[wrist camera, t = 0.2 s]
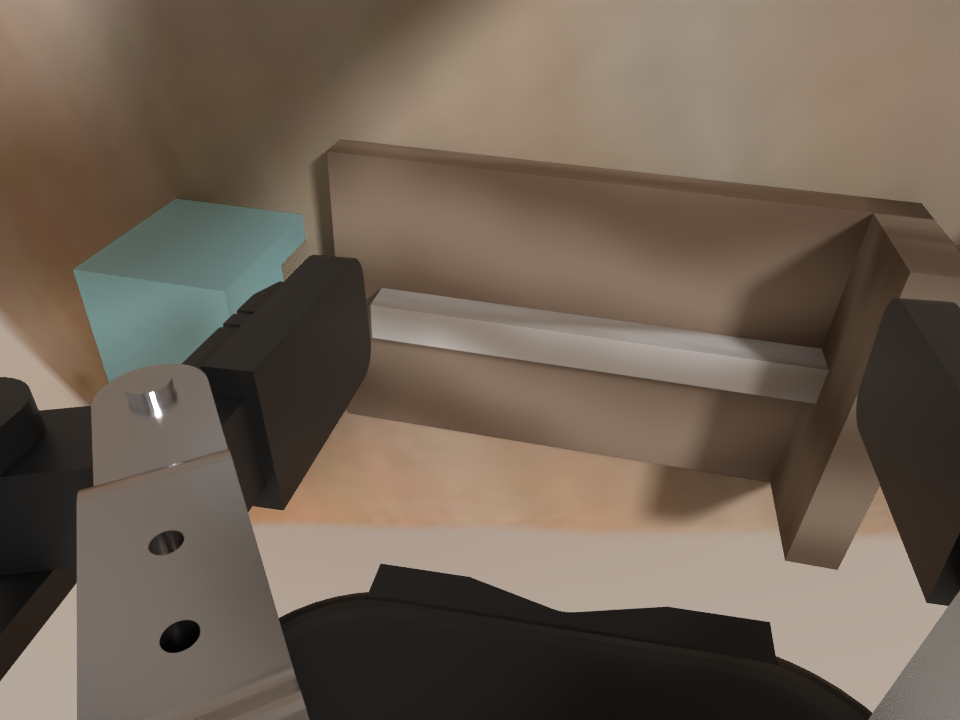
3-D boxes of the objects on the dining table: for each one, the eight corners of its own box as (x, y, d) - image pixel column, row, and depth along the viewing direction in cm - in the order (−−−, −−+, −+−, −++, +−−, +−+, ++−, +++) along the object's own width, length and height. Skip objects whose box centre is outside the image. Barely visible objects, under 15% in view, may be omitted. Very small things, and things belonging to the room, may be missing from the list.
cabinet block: (161, 196, 32) (55, 266, 26) (302, 214, 31) (224, 291, 26) (187, 311, 36) (98, 395, 30) (314, 330, 35) (248, 420, 29)
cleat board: (340, 139, 29) (276, 194, 24) (921, 203, 26) (983, 280, 21) (358, 394, 36) (312, 475, 31) (811, 467, 33) (837, 569, 28)
